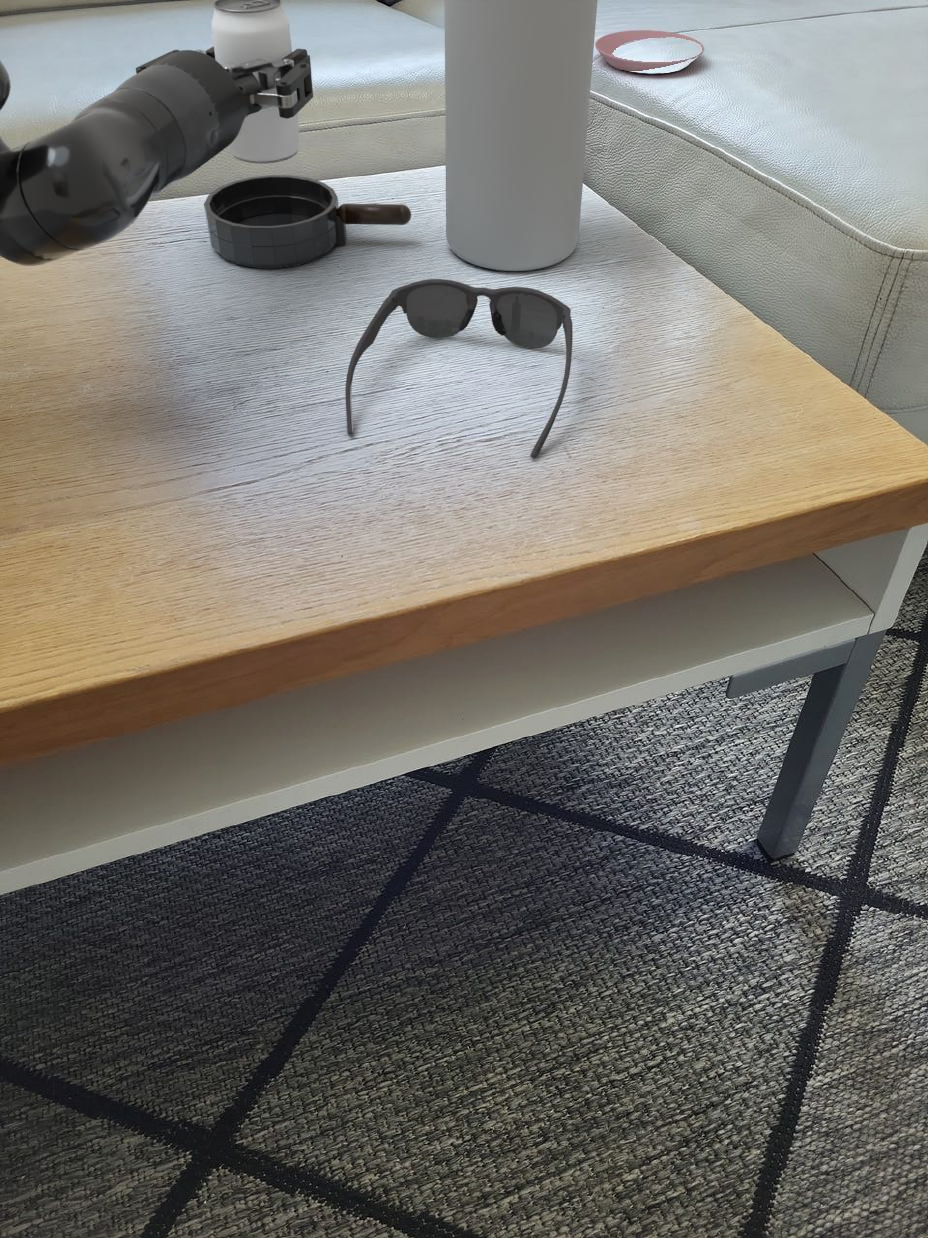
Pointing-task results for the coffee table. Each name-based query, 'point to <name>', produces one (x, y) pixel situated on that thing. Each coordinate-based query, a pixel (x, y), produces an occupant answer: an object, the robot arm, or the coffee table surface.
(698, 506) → the coffee table surface
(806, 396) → the coffee table surface
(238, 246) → the pan
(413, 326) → the sunglasses
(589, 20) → the cylinder vase
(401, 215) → the pan handle
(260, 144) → the can
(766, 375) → the coffee table surface
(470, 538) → the coffee table surface
